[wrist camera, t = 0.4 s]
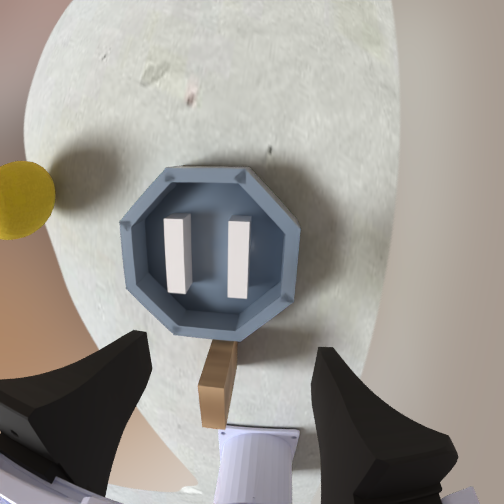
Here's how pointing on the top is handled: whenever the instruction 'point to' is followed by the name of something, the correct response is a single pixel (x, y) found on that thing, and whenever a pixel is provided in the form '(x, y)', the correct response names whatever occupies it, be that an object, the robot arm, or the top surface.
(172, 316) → the octagonal blue tray
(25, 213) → the lemon
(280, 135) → the top surface
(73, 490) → the robot arm
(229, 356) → the brown wooden plank
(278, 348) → the top surface
